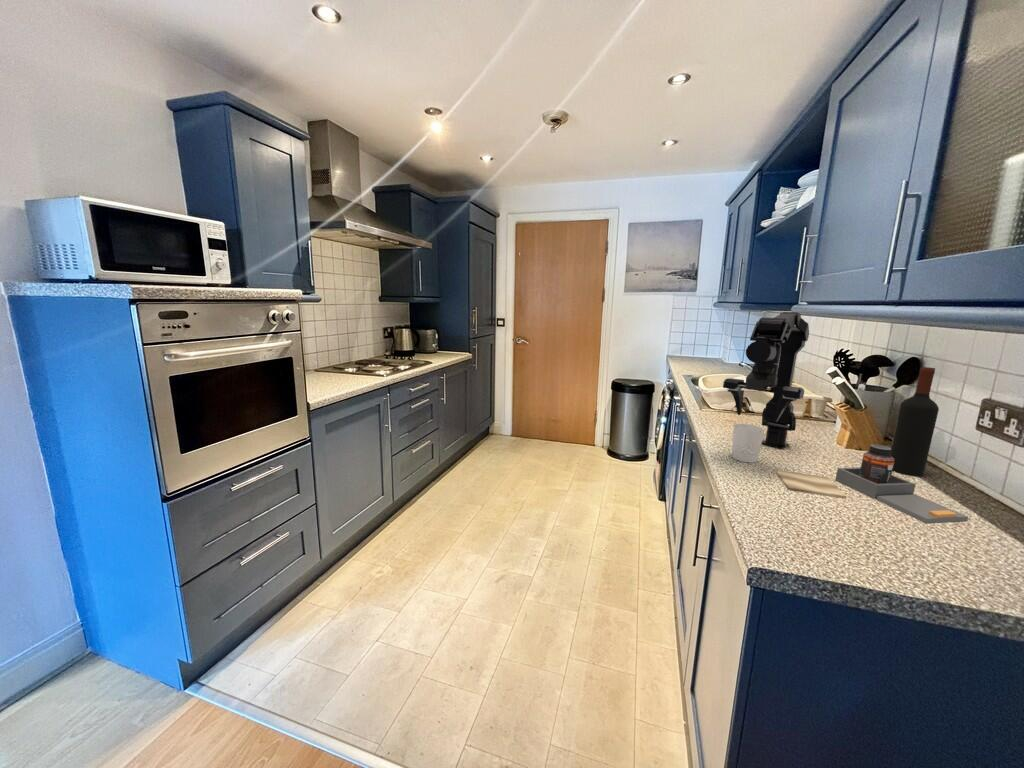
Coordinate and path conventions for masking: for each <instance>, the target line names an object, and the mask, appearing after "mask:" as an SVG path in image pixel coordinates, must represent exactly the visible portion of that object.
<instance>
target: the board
mask: <svg viewBox="0 0 1024 768" xmlns="http://www.w3.org/2000/svg"><path fill="white" fill-rule="evenodd" d="M775 473H776V475H777V476H778V477H779V479H780V480H781V482H782V483H783V484H784V486H785V488H786V489H787V491H793V492H800V493H806V494H813V495H814V494H815V495H821V496H826V497H834V498H835V497H836V498H840V499H847V495H846V494H845V493H844V492H843V491H842V490H841V489H840V488H839V487H838V486H837V485H836V484H835V483H834V482H833V481H832V480H831V479H830V478H829V477H828V476H822V475H816V474H815V475H814V474H810V473H809V474H807V473H800V472H793V471H786V470H778V469H775Z"/></svg>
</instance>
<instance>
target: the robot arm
mask: <svg viewBox="0 0 1024 768" xmlns="http://www.w3.org/2000/svg"><path fill="white" fill-rule="evenodd" d="M758 319H759V320H757V321H756V323H755V325H754V328H753V331H752V332H751V335H750V338H749V340H750V341H752V342H751V343H750V344H748V346H746V349H745V356H746V358H747V360H748V361H750V362H752V363H753V366H752V369H751V371H750V373H748V375H747V376H746V377H745V380H744V379H740V378H733V377H730V378H729V377H727V378H725V379H724V380H723V384H722V388H723V389H727V392H730V394H731V395H732V396H733V399H734V403H735V408H736V413H737V415H738V416H740V415H741V413H742V409H743V402H744V392H745V390H753V391H758V392H765V393H772V394H773V396H772V398H771V399H770V400H769V401H767V403H766V404H765V407H764V408H763V410H762V415H761V427H762V426H764V427H766V435H765V440H762V444H761V445H765V444H766V445H765V446H769V445H770V447H773V448H777V449H785V448H787V447H789V446H790V443H787V438H788V431H789V432H792V431H796V427H797V417H796V415H795V413H794V408H795V407H794V405H793V403H792V402H796V401H797V400H800V399H804V395H805V389H804V388H803V387H799V386H793V385H792V384H793V378H794V373H795V367H796V361H797V356H798V353H799V352H800V351H801V350H803V348H805V345H806V342H807V341H808V340H809V338H810V337H809V336H810V327H809V323H808V322H806V321H805V319H803V318H802V315H801V313H800V312H797V311H783V312H780V313H779V314H778V315H776V316H774V317H765V316H764V317H763V316H762V317H760V318H758ZM743 389H744V390H743Z"/></svg>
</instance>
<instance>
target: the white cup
mask: <svg viewBox="0 0 1024 768" xmlns="http://www.w3.org/2000/svg"><path fill="white" fill-rule="evenodd" d="M732 432H733V433H732V445H731V446H732V447H731V448H732V449H731V451H732V452H731V457H732V458H733V459H734V460H736V461H738V460H739V461H738V462H742V463H747V462H749V464H750V463H751V464H752V463H753V464H754V463H757V462H758V460H759V454H760V451H761V447H762V445H763V444H762V441H763V437H764V432H765V428H764V427H762V426H759V425H755V424H750V423H735V424H733V431H732Z"/></svg>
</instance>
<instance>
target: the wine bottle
mask: <svg viewBox="0 0 1024 768" xmlns="http://www.w3.org/2000/svg"><path fill="white" fill-rule="evenodd" d="M935 372H936V368H935V367H929V366H921V367H920V369H919V375H918V380H917V384H916V388H915V393H914V394H913V395H912V396H910V397H908V398H905V399H904V400H903V401H902V402H901V403H900V405H899V409H898V415H897V420H896V424H895V429H894V433H893V438H892V442H891V447H890V448H891V454H890V455H891V457H893V458H894V466H893V471H892V472H894V471H895V472H894V473H897V474H900V473H901V475H904V474H905V476H909V475H910V477H922V476H924V475H925V474H924V473H925V471H926V466H927V462H928V461H927V460H928V457H929V454H930V453H929V452H930V448H931V444H932V439H933V436H934V432H935V428H936V422H937V419H938V415H939V408H940V407H939V406H938V404H937V402H935V401H934V400H933V399H931V397H930V392H931V389H932V384H933V380H934V376H935Z"/></svg>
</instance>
